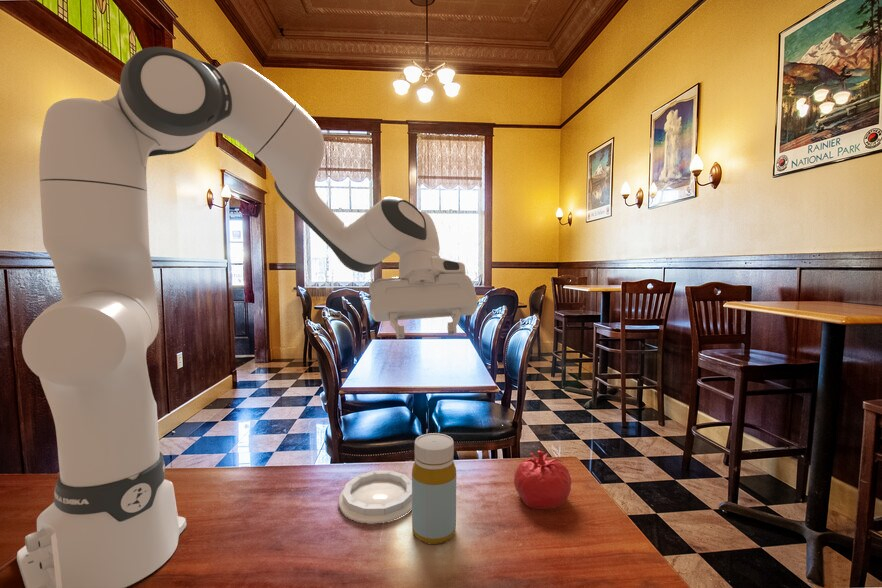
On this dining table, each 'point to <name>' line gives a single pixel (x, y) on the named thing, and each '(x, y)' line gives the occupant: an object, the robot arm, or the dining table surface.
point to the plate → (376, 497)
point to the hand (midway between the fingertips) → (426, 335)
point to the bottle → (434, 488)
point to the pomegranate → (542, 482)
